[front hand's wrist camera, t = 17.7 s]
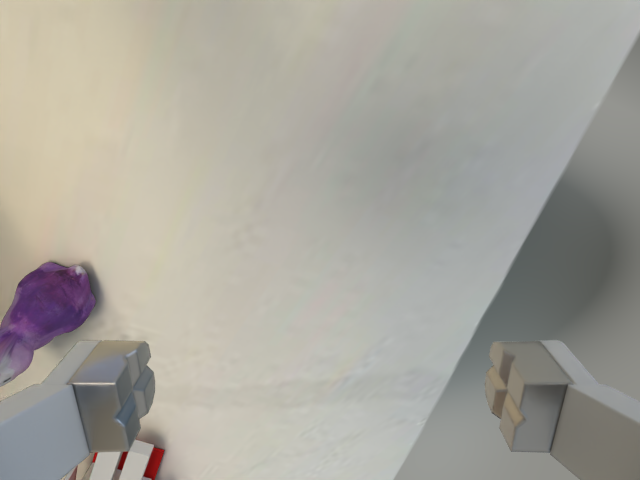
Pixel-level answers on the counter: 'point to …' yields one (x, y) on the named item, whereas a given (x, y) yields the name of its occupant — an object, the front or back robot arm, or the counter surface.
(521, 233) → the counter surface
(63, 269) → the figurine
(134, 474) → the toy
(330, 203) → the counter surface
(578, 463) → the front robot arm
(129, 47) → the counter surface
